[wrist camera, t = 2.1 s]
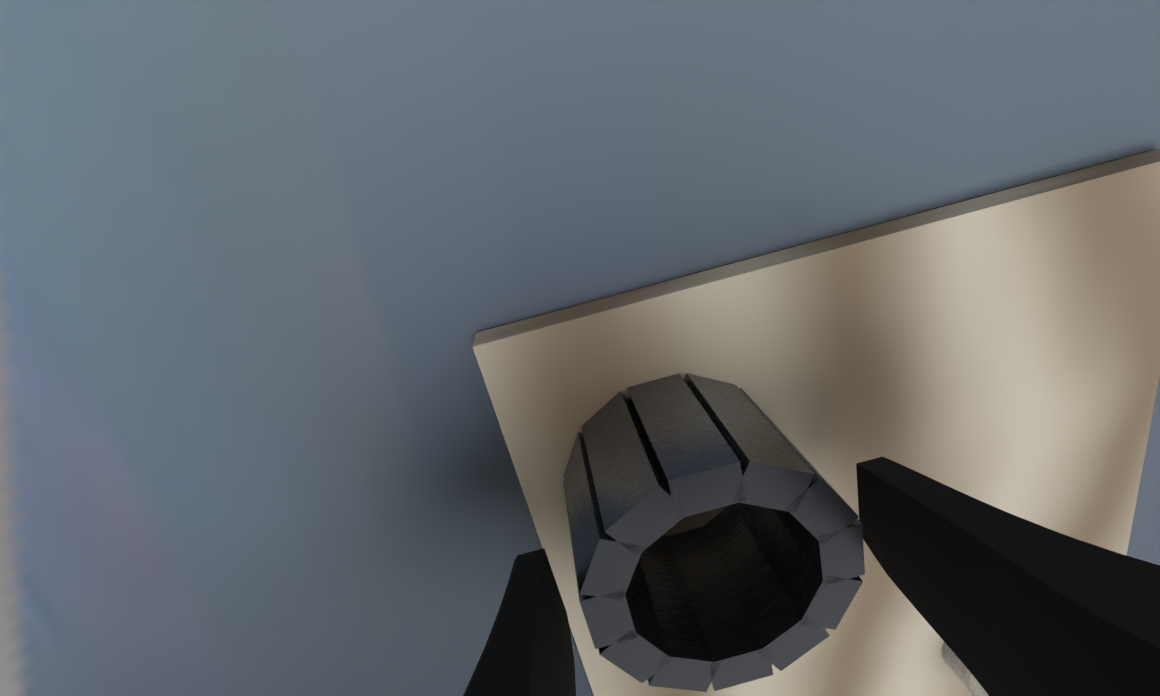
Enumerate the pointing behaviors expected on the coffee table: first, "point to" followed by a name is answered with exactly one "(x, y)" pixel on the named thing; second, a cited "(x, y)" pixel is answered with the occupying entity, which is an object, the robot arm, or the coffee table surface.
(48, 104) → the coffee table surface
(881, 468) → the robot arm
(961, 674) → the post
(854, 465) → the board
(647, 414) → the ring
